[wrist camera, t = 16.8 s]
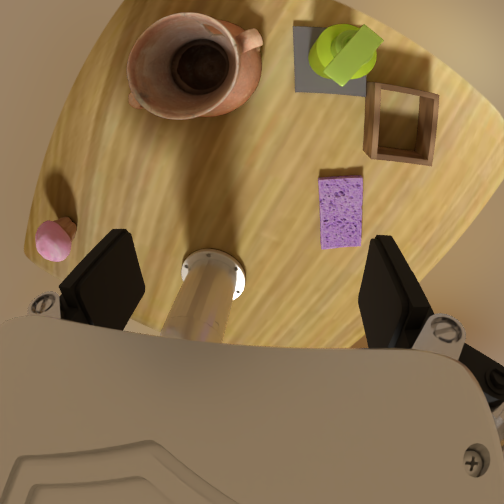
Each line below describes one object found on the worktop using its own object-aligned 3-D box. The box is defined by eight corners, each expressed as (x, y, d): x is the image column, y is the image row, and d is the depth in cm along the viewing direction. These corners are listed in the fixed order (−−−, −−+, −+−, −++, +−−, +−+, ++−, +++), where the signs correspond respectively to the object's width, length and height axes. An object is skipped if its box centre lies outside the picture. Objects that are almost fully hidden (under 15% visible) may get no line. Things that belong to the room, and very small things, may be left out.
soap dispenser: (295, 67, 33) (300, 55, 17) (324, 32, 30) (353, -6, 13) (329, 92, 35) (364, 105, 18) (358, 58, 31) (415, 45, 15)
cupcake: (52, 223, 55) (25, 247, 47) (63, 200, 51) (33, 223, 43) (77, 249, 58) (53, 276, 50) (91, 227, 54) (64, 254, 46)
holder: (418, 156, 38) (431, 166, 34) (362, 149, 39) (370, 158, 35) (424, 91, 32) (439, 94, 28) (365, 81, 34) (375, 82, 30)
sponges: (360, 173, 42) (363, 177, 41) (359, 242, 49) (361, 248, 47) (316, 175, 43) (318, 179, 42) (320, 244, 50) (321, 250, 49)
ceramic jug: (249, 6, 29) (229, -25, 18) (287, 90, 36) (285, 95, 25) (141, 57, 35) (86, 58, 23) (176, 134, 42) (133, 160, 30)
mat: (364, 96, 35) (365, 96, 34) (295, 91, 36) (295, 92, 35) (363, 33, 29) (365, 32, 29) (292, 27, 31) (293, 26, 30)
